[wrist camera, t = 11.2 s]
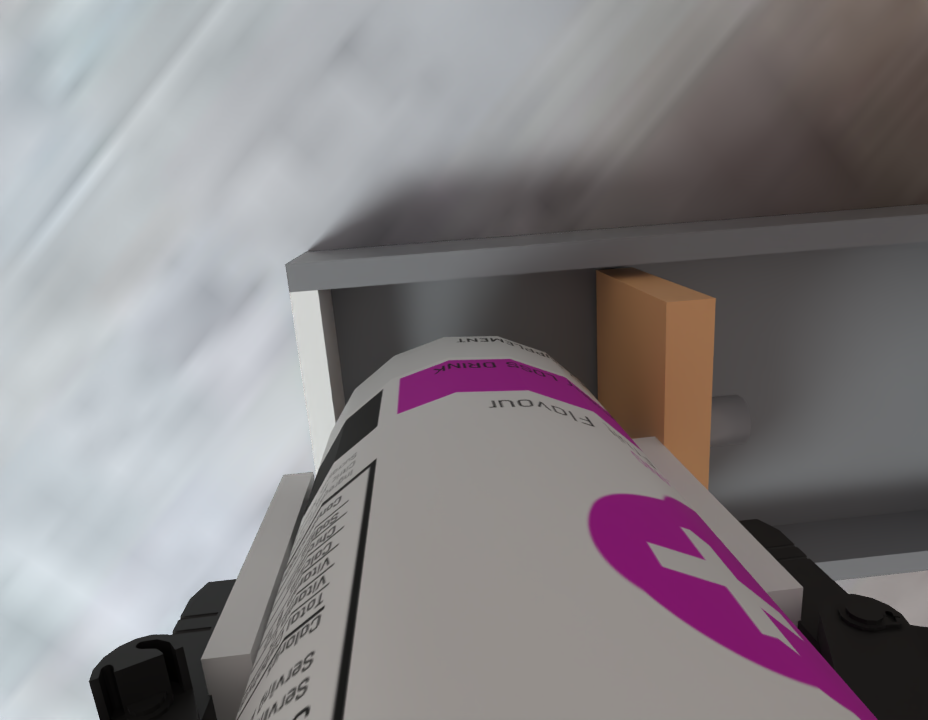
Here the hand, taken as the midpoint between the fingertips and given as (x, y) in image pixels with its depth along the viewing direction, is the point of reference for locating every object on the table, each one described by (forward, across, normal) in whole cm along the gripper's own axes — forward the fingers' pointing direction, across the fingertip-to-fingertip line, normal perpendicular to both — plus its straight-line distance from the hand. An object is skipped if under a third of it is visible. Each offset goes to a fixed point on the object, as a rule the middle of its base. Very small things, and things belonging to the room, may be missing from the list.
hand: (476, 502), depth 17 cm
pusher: (+5, -7, 0) cm, 9 cm away
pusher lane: (+7, -8, 0) cm, 11 cm away
